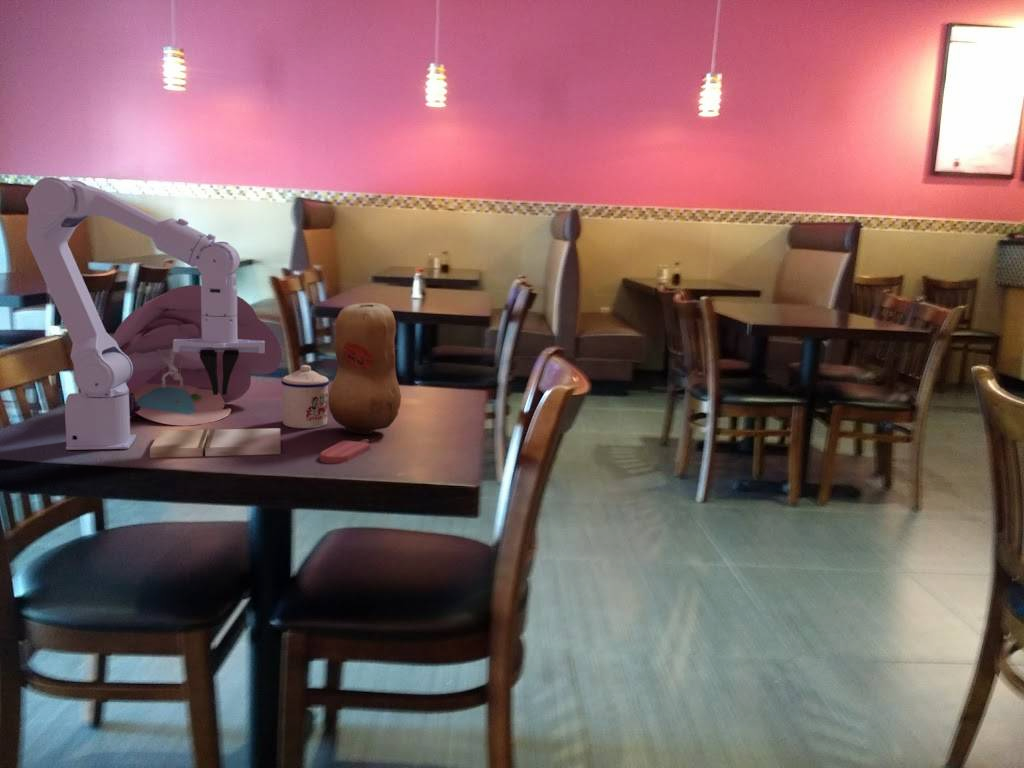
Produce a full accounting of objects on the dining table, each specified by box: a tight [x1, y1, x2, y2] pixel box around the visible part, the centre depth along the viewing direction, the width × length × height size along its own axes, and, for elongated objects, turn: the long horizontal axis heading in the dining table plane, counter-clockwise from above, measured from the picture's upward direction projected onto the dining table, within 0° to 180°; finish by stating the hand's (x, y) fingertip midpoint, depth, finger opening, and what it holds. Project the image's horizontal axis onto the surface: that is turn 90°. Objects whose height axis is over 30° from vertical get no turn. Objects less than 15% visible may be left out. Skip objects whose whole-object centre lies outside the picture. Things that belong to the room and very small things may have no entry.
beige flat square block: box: [204, 427, 282, 457], centre depth 137 cm, size 12×12×2 cm
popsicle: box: [319, 438, 371, 464], centre depth 137 cm, size 5×2×15 cm
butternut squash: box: [328, 302, 402, 435], centre depth 149 cm, size 14×13×25 cm
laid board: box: [149, 428, 210, 459], centre depth 134 cm, size 8×12×2 cm, turn 17°
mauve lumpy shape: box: [111, 284, 282, 427], centre depth 155 cm, size 35×24×28 cm
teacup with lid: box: [281, 364, 330, 429], centre depth 155 cm, size 12×9×12 cm
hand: (220, 393), depth 134 cm, fingers closed
